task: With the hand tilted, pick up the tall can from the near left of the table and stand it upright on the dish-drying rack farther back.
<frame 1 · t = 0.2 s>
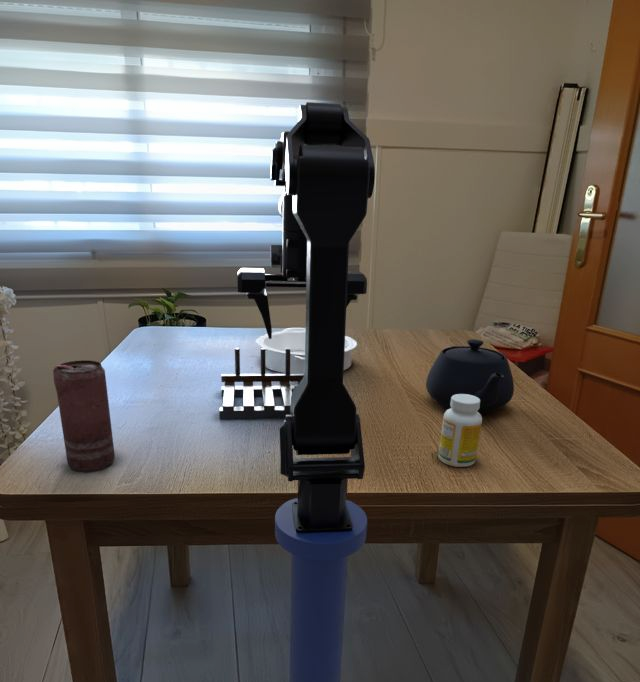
hand: (300, 338, 88), 15 cm above the table, tool pointing down, fingers open, 9 cm apart
dish rack: (277, 405, 103), on the table
pot: (306, 363, 129), on the table
teapot: (467, 407, 106), on the table
can: (91, 464, 79), on the table
supplement bottle: (456, 461, 84), on the table
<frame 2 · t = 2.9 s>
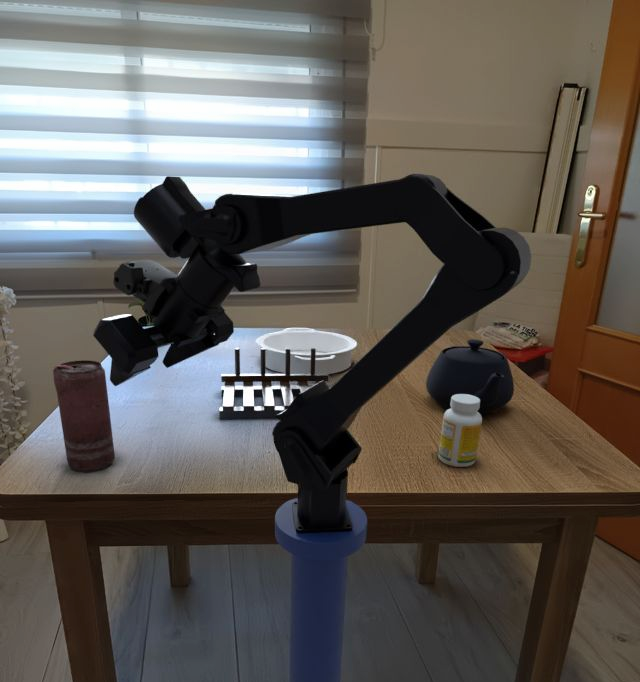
hand: (140, 373, 73), 14 cm above the table, tool tilted 40°, fingers open, 9 cm apart
nothing on the table moved.
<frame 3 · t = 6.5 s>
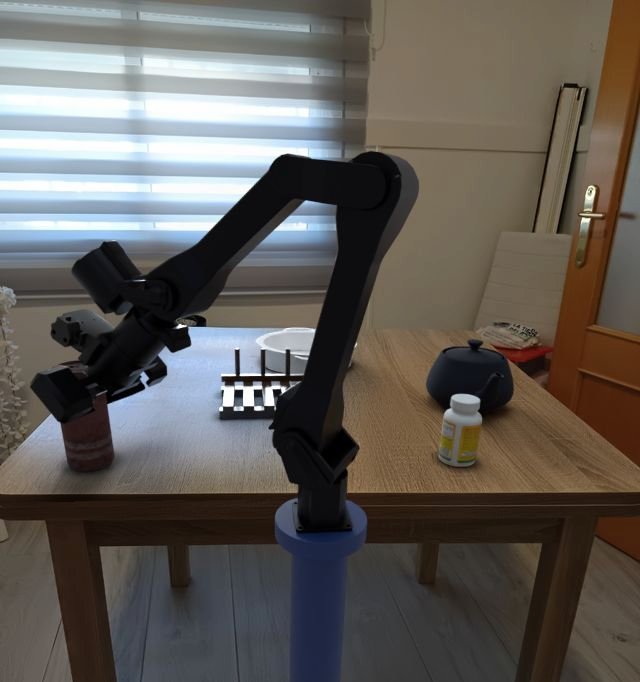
hand: (76, 413, 77), 7 cm above the table, tool tilted 45°, fingers closed on can, 5 cm apart
can: (91, 463, 79), on the table, touching gripper
everything else where it was.
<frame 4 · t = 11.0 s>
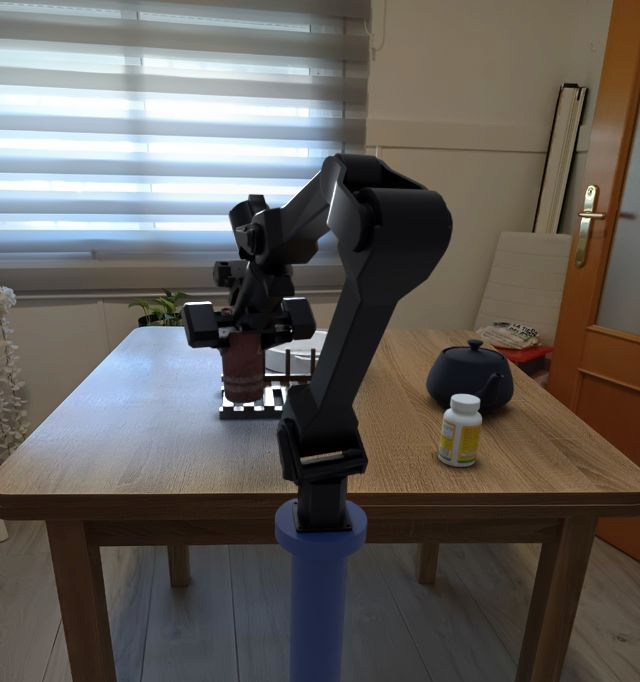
hand: (239, 352, 89), 12 cm above the table, tool tilted 45°, fingers closed on can, 5 cm apart
can: (243, 398, 90), point 5 cm above the table, touching gripper
everything else where it was.
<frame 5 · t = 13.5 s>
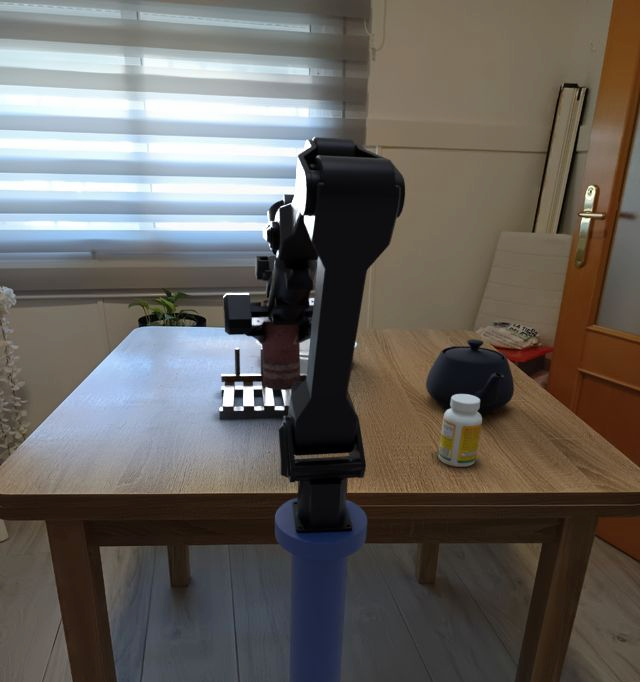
hand: (279, 341, 95), 12 cm above the table, tool tilted 45°, fingers closed on can, 5 cm apart
can: (281, 385, 97), point 5 cm above the table, touching gripper
everything else where it was.
when the fingers open (10 cm above the table, at t = 15.5 s): can stays where it is, resting on dish rack.
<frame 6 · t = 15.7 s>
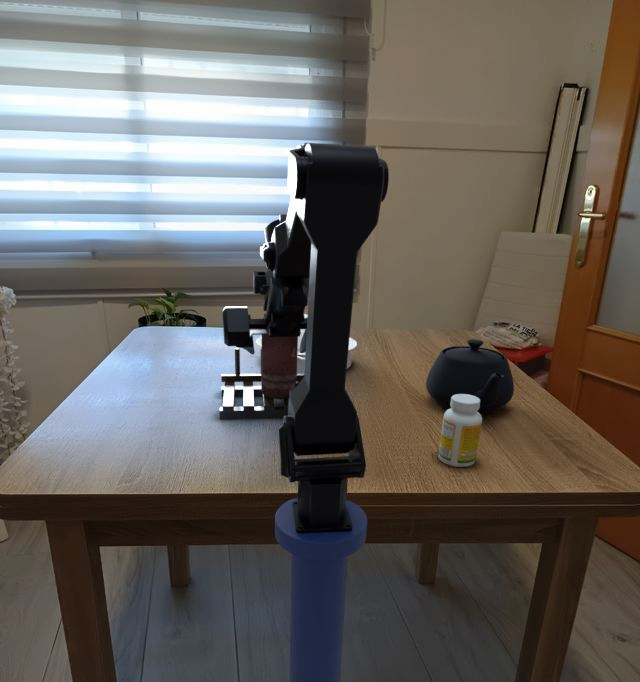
hand: (276, 351, 100), 10 cm above the table, tool tilted 45°, fingers open, 8 cm apart
can: (278, 395, 101), point 2 cm above the table, touching dish rack
everything else where it was.
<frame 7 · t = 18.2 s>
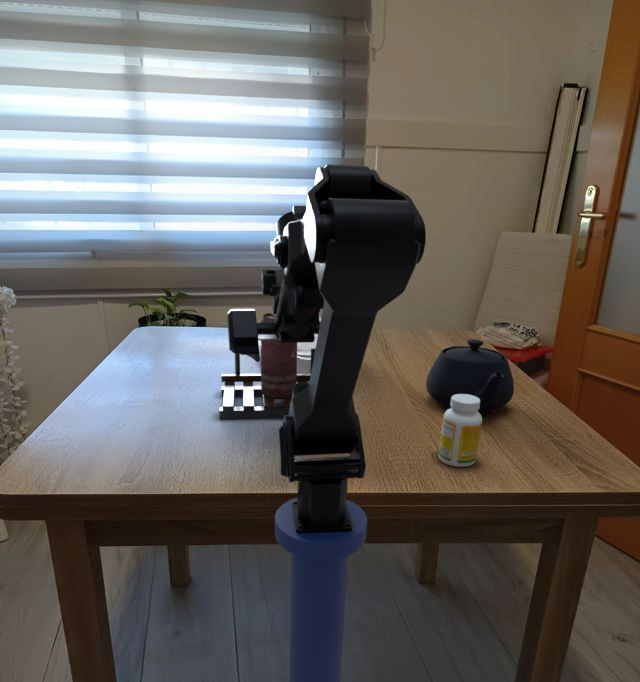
hand: (286, 358, 90), 11 cm above the table, tool tilted 45°, fingers open, 9 cm apart
nothing on the table moved.
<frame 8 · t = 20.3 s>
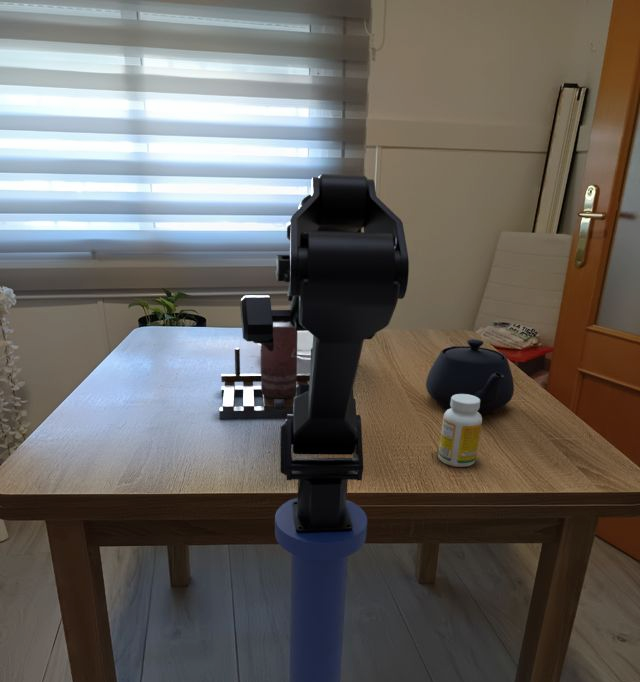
hand: (300, 347, 87), 14 cm above the table, tool tilted 45°, fingers open, 9 cm apart
nothing on the table moved.
at the end: can inside the target area on the dish rack (0.6 cm from its centre), point 2.3 cm above the dish rack's base; can tilted 0°; the gripper is holding nothing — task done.
